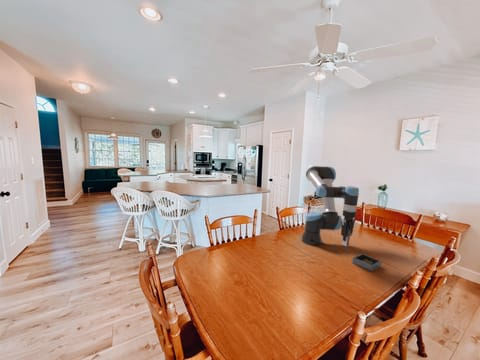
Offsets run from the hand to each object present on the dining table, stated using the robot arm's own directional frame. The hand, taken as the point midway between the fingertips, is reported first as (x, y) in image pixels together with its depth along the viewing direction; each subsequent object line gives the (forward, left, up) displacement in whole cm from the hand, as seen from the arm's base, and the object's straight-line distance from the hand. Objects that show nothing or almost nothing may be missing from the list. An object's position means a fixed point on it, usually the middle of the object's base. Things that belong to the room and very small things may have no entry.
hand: (345, 244), depth 134 cm
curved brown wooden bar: (0, 0, -1) cm, 1 cm away
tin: (+12, +6, -10) cm, 16 cm away
